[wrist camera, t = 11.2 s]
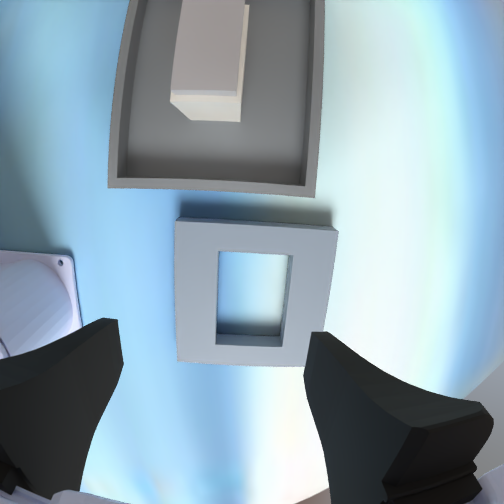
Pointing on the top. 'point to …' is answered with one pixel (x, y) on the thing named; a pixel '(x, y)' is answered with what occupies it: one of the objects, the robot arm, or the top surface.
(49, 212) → the top surface
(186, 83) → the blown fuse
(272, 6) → the parts tray
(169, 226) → the top surface
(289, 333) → the grey flat square frame
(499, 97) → the top surface
